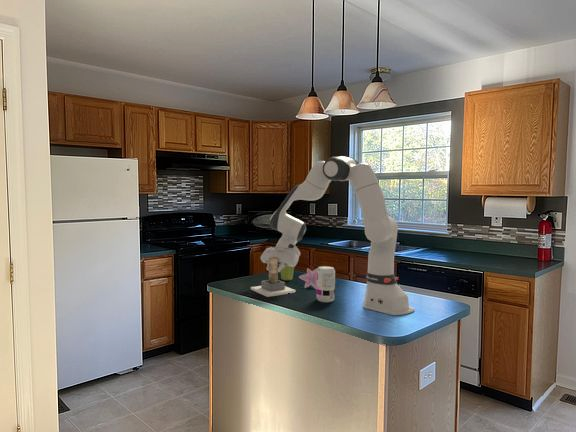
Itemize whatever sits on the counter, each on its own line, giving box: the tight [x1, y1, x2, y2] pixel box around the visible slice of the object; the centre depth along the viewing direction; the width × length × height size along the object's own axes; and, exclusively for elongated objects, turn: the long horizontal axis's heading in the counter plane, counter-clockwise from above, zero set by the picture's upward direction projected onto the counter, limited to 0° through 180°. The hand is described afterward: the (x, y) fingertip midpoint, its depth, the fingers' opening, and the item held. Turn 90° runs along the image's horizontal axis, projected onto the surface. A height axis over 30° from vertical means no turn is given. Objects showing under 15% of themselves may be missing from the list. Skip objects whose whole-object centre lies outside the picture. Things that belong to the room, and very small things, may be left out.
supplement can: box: [315, 265, 336, 303], centre depth 189 cm, size 8×8×15 cm
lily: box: [298, 267, 319, 290], centre depth 215 cm, size 12×12×10 cm
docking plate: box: [250, 279, 296, 298], centre depth 204 cm, size 16×16×5 cm
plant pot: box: [278, 265, 296, 281], centre depth 230 cm, size 9×9×9 cm
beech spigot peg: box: [268, 257, 279, 284], centre depth 204 cm, size 4×4×14 cm
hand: (272, 270), depth 203 cm, fingers closed on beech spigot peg, 4 cm apart
